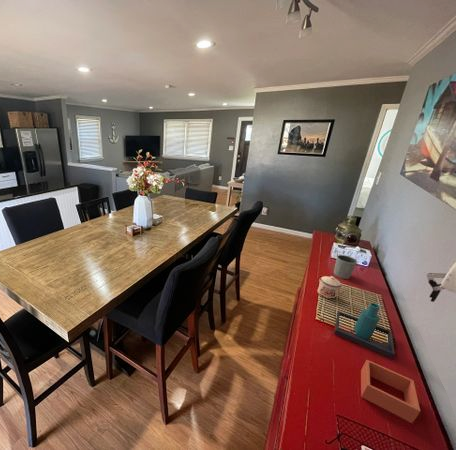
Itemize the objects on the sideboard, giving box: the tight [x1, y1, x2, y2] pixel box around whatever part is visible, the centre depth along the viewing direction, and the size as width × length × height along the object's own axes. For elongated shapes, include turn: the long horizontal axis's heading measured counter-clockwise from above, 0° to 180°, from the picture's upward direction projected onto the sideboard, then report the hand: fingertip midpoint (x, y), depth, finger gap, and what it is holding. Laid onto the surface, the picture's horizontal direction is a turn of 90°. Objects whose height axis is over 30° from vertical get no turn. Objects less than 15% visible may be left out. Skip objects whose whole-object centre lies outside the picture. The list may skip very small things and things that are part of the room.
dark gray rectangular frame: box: [333, 310, 396, 359], centre depth 107 cm, size 20×16×3 cm
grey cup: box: [333, 254, 358, 280], centre depth 151 cm, size 10×10×12 cm
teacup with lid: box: [316, 275, 347, 299], centre depth 131 cm, size 12×9×12 cm
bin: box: [360, 359, 421, 424], centre depth 82 cm, size 13×13×6 cm
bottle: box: [354, 302, 381, 339], centre depth 104 cm, size 6×6×16 cm
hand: (454, 309), depth 76 cm, fingers open, 9 cm apart
